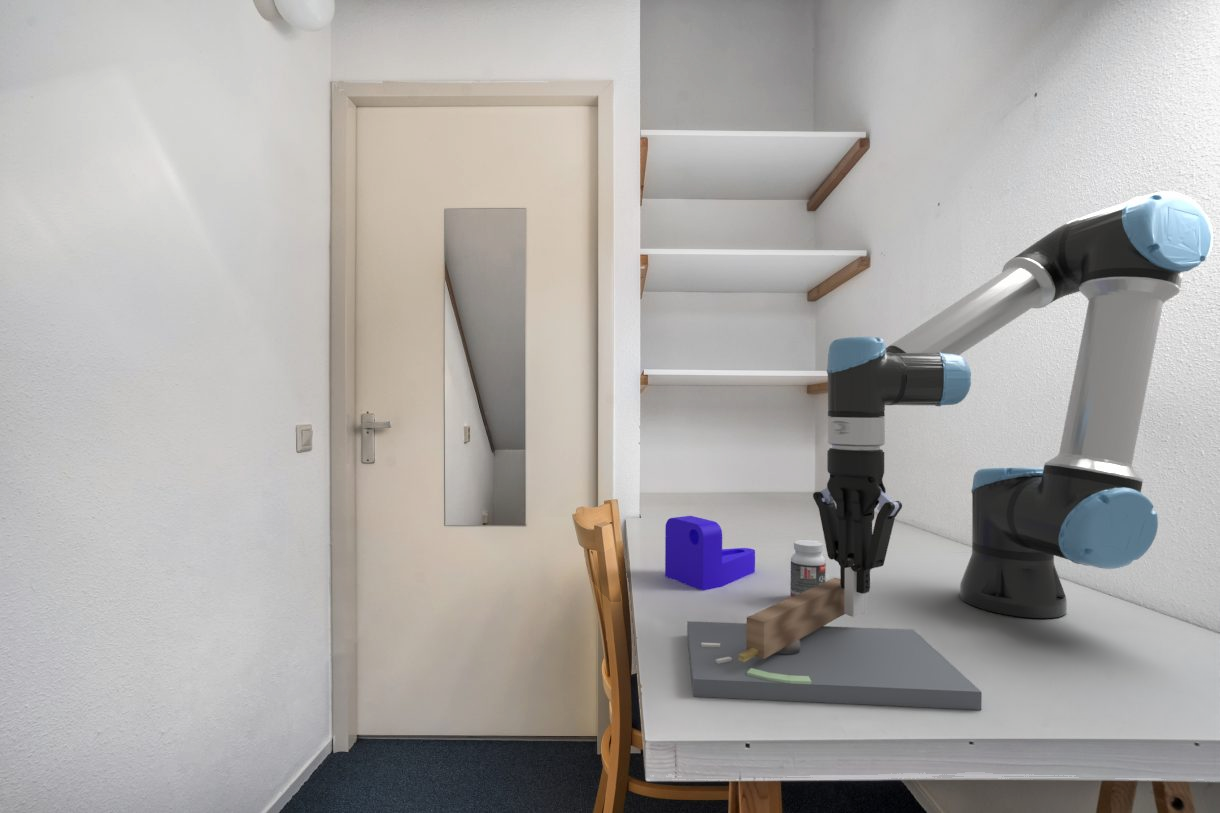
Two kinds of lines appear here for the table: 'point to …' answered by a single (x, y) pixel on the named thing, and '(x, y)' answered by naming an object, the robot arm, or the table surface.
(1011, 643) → the table surface
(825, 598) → the brown wooden bar
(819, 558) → the pill bottle
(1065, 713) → the table surface
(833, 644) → the plate
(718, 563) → the bracket
